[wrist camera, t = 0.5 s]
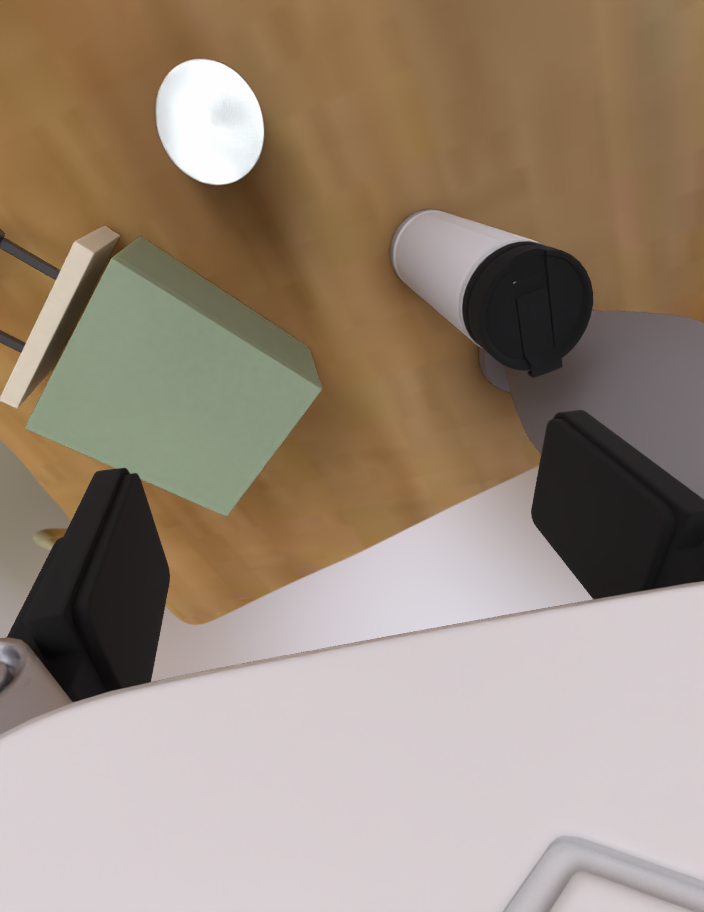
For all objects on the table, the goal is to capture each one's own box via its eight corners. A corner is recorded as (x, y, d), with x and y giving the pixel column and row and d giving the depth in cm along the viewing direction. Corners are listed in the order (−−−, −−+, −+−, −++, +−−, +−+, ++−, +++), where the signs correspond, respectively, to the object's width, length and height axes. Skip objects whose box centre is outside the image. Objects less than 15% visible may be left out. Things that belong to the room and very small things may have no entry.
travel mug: (400, 301, 44) (494, 395, 27) (381, 224, 40) (475, 277, 23) (467, 277, 44) (602, 356, 27) (453, 197, 40) (600, 231, 23)
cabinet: (65, 377, 42) (23, 428, 34) (139, 235, 38) (111, 257, 30) (230, 459, 49) (226, 517, 41) (309, 347, 45) (322, 389, 37)
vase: (522, 241, 43) (1107, 441, 14) (620, 306, 48) (1206, 556, 19) (440, 372, 48) (736, 719, 19) (536, 418, 53) (890, 751, 24)
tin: (145, 110, 34) (130, 104, 30) (221, 45, 33) (217, 30, 29) (210, 200, 37) (205, 207, 33) (281, 145, 36) (285, 144, 32)
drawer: (-38, 324, 38) (-94, 358, 32) (25, 173, 34) (-26, 178, 28) (201, 443, 47) (193, 488, 40) (274, 335, 42) (278, 367, 36)
